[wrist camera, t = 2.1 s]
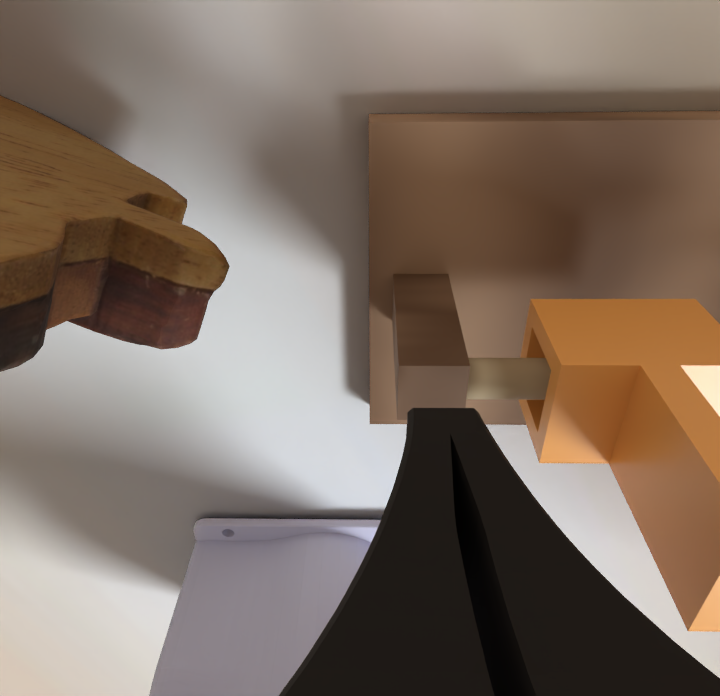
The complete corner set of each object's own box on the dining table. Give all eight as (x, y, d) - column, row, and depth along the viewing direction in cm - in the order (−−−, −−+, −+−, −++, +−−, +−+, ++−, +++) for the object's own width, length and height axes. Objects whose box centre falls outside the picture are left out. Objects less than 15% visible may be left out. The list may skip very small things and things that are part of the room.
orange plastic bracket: (514, 388, 15) (594, 629, 10) (530, 298, 14) (636, 523, 8) (662, 389, 15) (829, 632, 10) (695, 298, 14) (916, 527, 8)
